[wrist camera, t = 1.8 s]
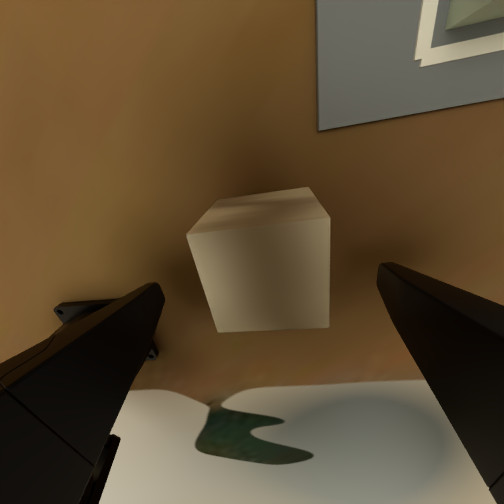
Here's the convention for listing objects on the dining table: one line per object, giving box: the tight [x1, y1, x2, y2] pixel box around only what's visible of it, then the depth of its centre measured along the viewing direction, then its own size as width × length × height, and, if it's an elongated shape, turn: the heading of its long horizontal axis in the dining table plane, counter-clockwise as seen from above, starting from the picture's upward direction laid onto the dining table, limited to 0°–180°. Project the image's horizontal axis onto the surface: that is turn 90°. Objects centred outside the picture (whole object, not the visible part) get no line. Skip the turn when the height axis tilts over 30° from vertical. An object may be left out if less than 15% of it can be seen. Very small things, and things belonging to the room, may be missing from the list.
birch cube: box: [186, 187, 330, 333], centre depth 11 cm, size 5×5×5 cm
